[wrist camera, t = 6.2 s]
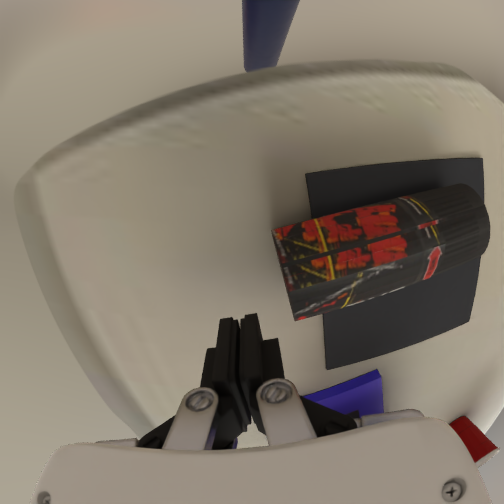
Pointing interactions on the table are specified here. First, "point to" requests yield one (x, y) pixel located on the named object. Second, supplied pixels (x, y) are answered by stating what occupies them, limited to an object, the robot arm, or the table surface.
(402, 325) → the mat
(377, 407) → the stapler
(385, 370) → the table surface
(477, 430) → the plastic cup
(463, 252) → the deodorant
